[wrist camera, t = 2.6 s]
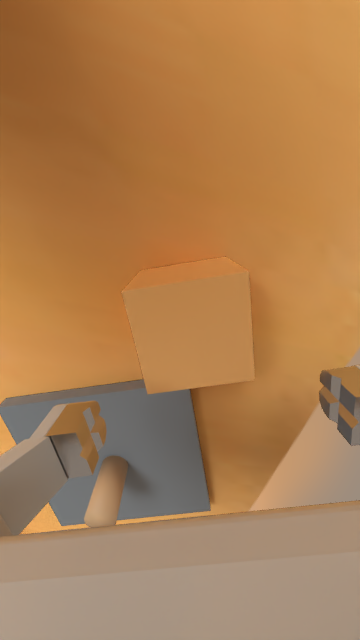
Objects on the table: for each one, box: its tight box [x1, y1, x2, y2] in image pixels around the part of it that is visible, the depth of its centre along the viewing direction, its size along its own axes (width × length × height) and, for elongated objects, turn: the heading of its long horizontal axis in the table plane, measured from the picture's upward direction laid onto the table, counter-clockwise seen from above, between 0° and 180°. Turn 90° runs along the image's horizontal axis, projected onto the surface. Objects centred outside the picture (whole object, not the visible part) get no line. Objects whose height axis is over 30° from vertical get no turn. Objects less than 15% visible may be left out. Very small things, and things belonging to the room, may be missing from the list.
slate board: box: [0, 379, 211, 527], centre depth 21 cm, size 16×16×6 cm
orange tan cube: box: [121, 256, 255, 394], centre depth 15 cm, size 6×6×6 cm
